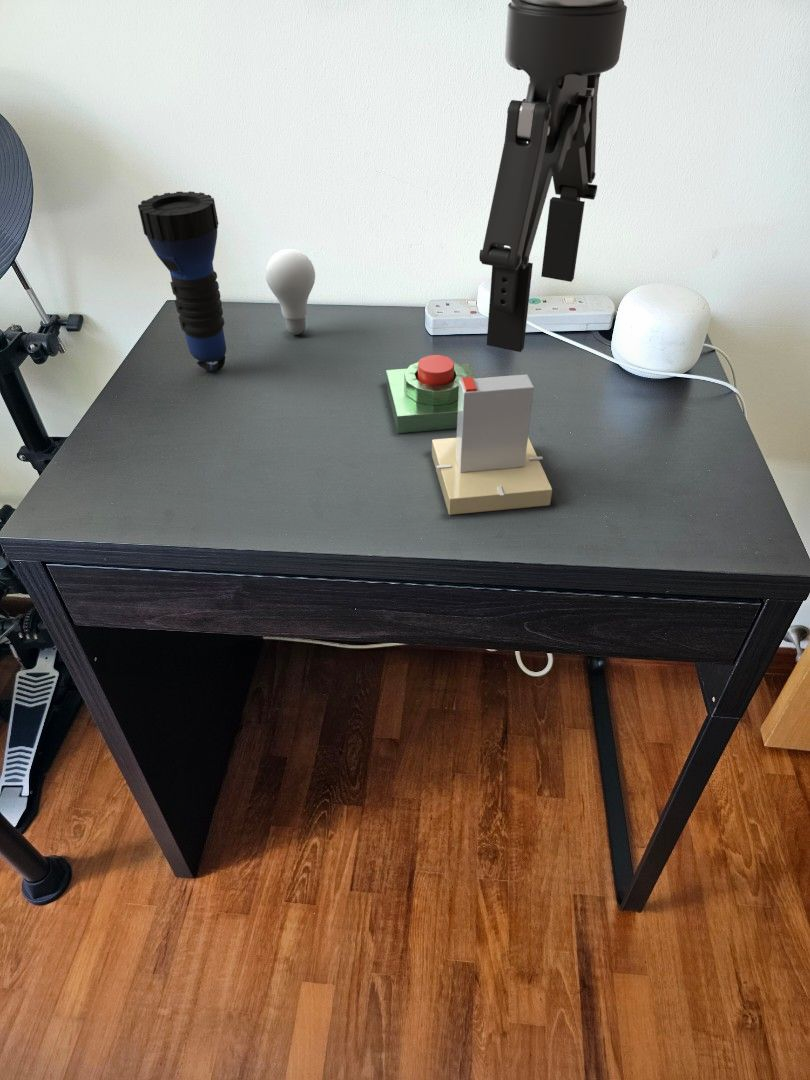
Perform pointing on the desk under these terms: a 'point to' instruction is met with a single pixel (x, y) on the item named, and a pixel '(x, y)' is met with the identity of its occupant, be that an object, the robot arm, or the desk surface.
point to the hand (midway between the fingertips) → (533, 310)
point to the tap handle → (493, 422)
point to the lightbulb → (291, 285)
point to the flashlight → (190, 267)
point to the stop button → (435, 370)
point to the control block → (424, 399)
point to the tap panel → (489, 482)
